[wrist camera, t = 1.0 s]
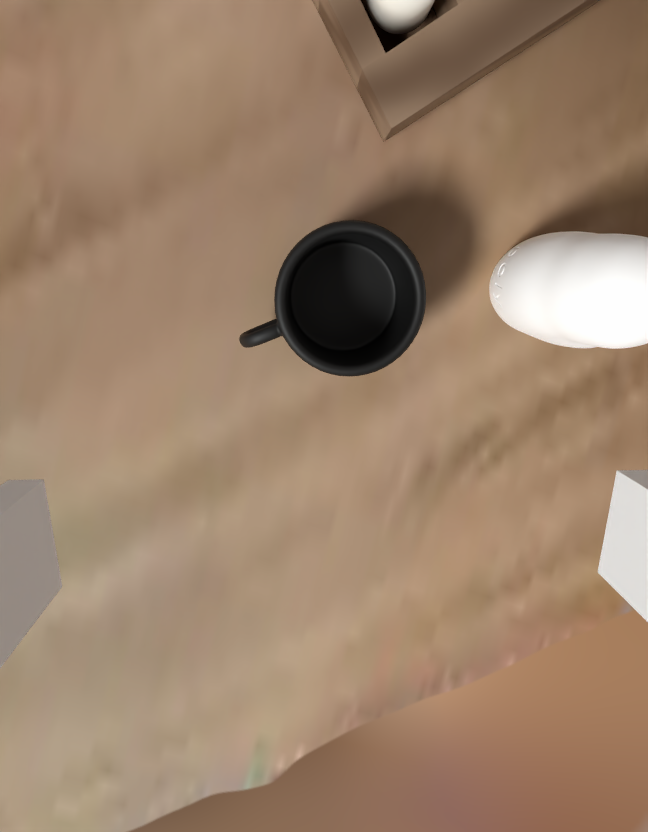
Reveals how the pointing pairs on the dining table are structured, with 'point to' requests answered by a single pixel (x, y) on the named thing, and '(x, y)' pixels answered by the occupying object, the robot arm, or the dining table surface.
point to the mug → (346, 299)
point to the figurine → (575, 289)
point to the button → (399, 14)
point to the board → (436, 51)
